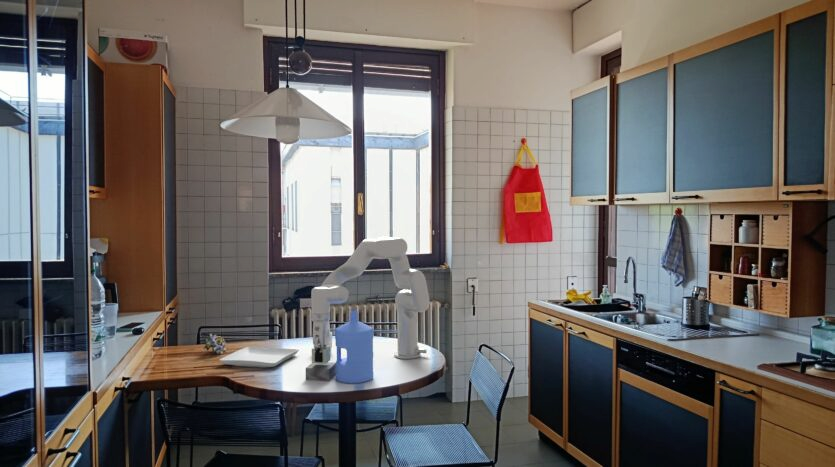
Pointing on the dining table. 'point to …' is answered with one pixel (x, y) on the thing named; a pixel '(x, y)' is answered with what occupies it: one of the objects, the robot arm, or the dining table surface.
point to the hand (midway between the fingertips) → (321, 359)
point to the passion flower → (215, 344)
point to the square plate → (259, 356)
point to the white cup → (329, 342)
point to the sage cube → (325, 354)
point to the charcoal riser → (320, 371)
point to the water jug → (354, 351)
